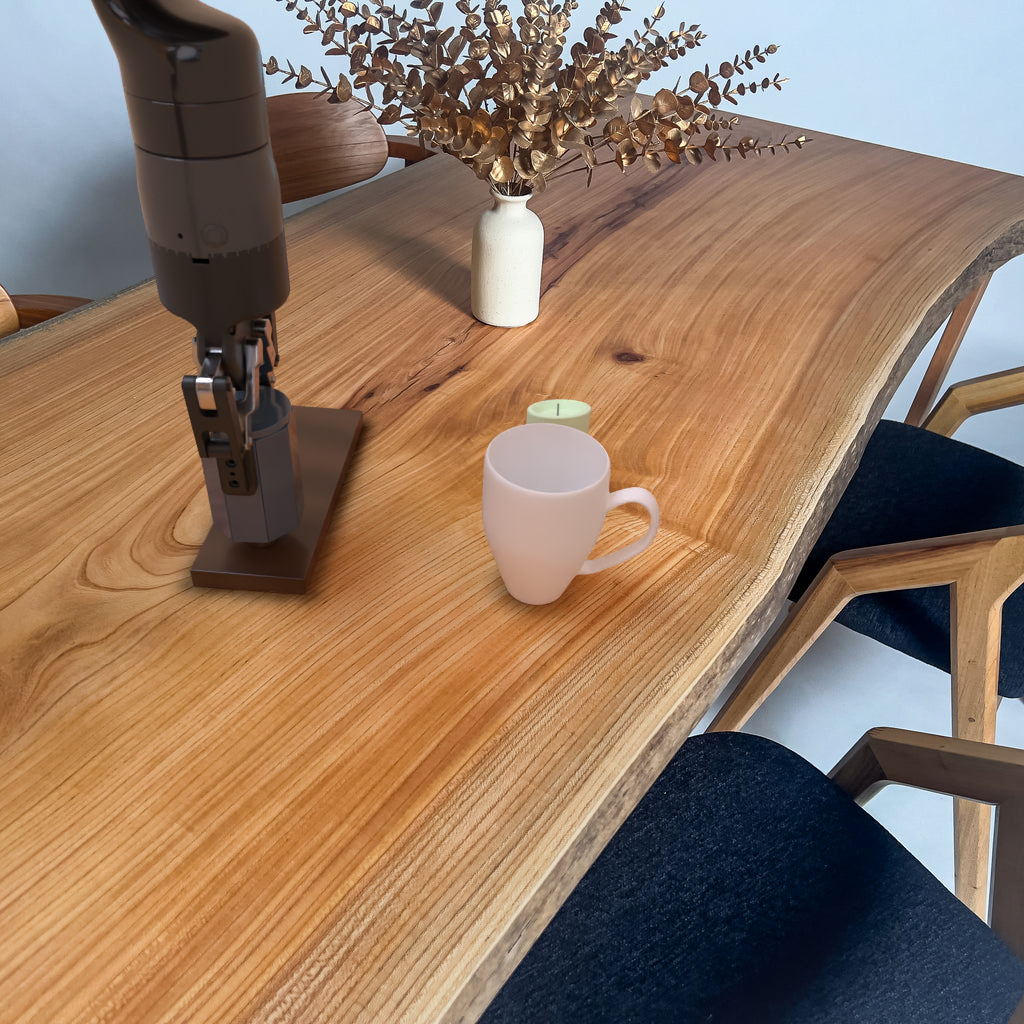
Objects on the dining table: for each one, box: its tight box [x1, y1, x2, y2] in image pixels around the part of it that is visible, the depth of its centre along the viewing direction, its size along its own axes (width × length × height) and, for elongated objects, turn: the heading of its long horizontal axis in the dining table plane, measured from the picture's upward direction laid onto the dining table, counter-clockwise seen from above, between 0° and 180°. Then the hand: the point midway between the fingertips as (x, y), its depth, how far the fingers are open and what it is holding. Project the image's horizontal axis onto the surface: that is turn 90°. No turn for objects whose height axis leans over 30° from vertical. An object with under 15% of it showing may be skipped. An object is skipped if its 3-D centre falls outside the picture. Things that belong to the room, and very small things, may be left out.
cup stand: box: [189, 404, 364, 595], centre depth 68 cm, size 22×8×12 cm, turn 177°
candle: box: [525, 398, 592, 435], centre depth 73 cm, size 5×5×8 cm
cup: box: [200, 385, 305, 543], centre depth 62 cm, size 6×6×9 cm
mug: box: [481, 423, 661, 606], centre depth 62 cm, size 12×8×11 cm
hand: (251, 462), depth 62 cm, fingers closed on cup, 6 cm apart
